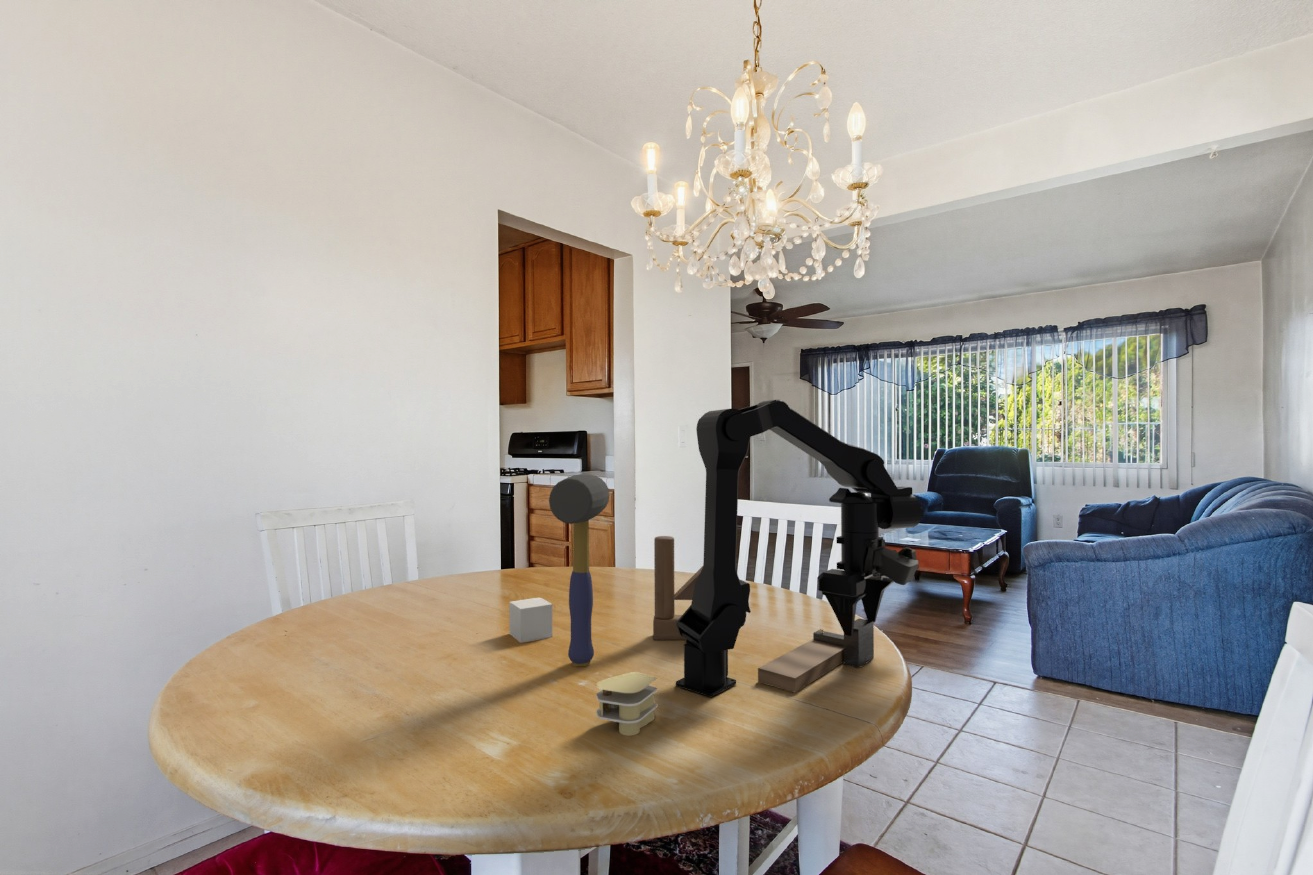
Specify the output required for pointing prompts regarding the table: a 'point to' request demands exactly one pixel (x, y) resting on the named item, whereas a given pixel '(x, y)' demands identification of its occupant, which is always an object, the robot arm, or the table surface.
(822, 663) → the walnut board
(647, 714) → the toy house
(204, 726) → the table surface
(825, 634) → the marking gauge
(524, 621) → the grey cube
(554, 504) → the rubber mallet
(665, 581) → the brown post on base
